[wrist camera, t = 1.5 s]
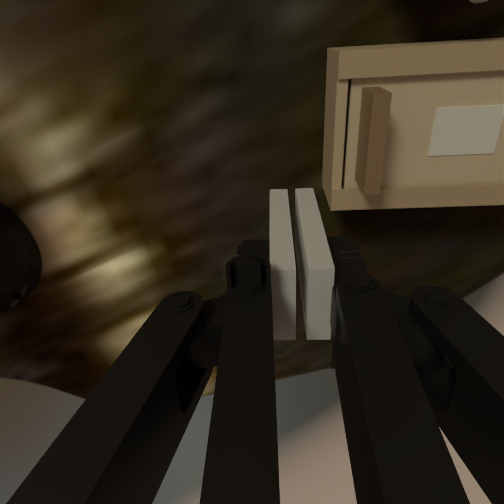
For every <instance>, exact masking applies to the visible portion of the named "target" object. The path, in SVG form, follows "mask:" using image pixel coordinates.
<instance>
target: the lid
mask: <svg viewBox="0 0 504 504" xmlns="http://www.w3.org/2000/svg"><path fill="white" fill-rule="evenodd" d="M486 183H504V70H496V71H478V72H460V73H442V74H424V75H406V76H388V77H370V78H352V79H350V94H349V108H348V123H347V138H346V152H345V167H344V182H343V189H351V188H360V189H361V191H362V193H363V194H364V195H366V194H380V190H381V187H405V186H432V185H459V184H486Z"/></svg>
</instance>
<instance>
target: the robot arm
mask: <svg viewBox="0 0 504 504" xmlns="http://www.w3.org/2000/svg"><path fill="white" fill-rule="evenodd" d="M295 245H296V253H297V262H298V270H299V279H300V287H301V296H302V304H303V313H304V321H305V329H306V338H307V340H326V339H330V336H331V331H332V336H333V344H332V359H331V368H335V372H336V378H337V384H338V390H339V396H340V402H341V408H342V414H343V421H344V426H345V433H346V439H347V445H348V451H349V457H350V463H351V469H352V475H353V481H354V487H355V493H356V500H357V504H470V503H469V500H468V498H467V495H466V493H465V491H464V488H463V485H462V483H461V480H460V478H459V475H458V473H457V470H456V468H455V466H454V463H453V461H452V458H451V456H450V453H449V451H448V448H447V446H446V443H445V441H444V438H443V436H442V433H441V431H440V429H439V427H440V428H441V430H442V431H443V433H444V434H445V436H446V437H447V439H448V440H449V442H450V443H451V444H452V446H453V448H454V449H455V450H456V452H457V453H458V455H459V456H460V458H461V459H462V461H463V462H464V463H465V465H466V467H467V468H468V469H469V471H470V472H471V474H472V475H473V477H474V478H475V479H476V481H477V483H478V484H479V486H480V487H481V488H482V490H483V491H484V493H485V494H486V496H487V497H488V499H489V500H490V502H491V503H492V504H504V336H503V335H502V334H501V333H500V332H498V331H497V330H496V329H495V328H494V327H493V326H492V325H491V324H490V323H488V322H487V321H486V320H485V319H484V318H483V317H482V316H481V315H479V314H478V313H477V312H476V311H475V310H474V309H473V308H472V307H471V306H469V305H468V304H467V303H466V302H465V301H464V300H463V299H462V298H461V297H460V296H458V295H457V294H456V293H454V292H453V291H451V290H449V289H446V288H443V287H440V286H434V285H423V286H420V287H416V288H415V289H414V290H413V291H412V292H411V297H408V296H403V295H397V294H393V293H389V292H386V291H384V290H383V288H382V285H381V284H380V283H379V281H378V280H376V279H374V278H373V277H370V275H369V273H368V270H367V268H366V266H365V263H364V261H363V258H362V256H361V253H360V252H359V249H358V246H357V244H356V242H355V241H353V240H352V239H351V238H349V237H348V236H339V237H326V235H325V231H324V227H323V224H322V220H321V216H320V213H319V209H318V205H317V202H316V198H315V194H314V191H313V188H302V189H295ZM40 274H41V257H40V253H39V250H38V247H37V245H36V242H35V240H34V238H33V237H32V235H31V233H30V232H29V231H28V229H27V228H26V227H25V225H24V224H23V223H22V222H21V221H20V220H19V219H18V218H17V217H16V216H15V215H14V214H13V213H12V212H11V211H10V210H8V209H7V208H6V207H4V206H3V205H2V204H0V313H2V312H4V311H6V310H8V309H10V308H12V307H14V306H16V305H17V304H18V303H20V302H21V301H22V300H23V299H24V298H25V297H26V296H27V295H28V294H29V293H30V292H31V291H32V290H33V288H34V287H35V286H36V284H37V283H38V280H39V278H40ZM226 276H227V285H228V292H226V293H225V294H224V295H222V296H220V297H217V298H214V299H210V300H206V301H203V299H202V297H201V296H200V295H199V294H197V293H194V292H190V291H181V292H177V293H173V294H171V295H169V296H167V297H165V298H164V299H163V300H162V301H161V302H160V303H159V304H158V306H157V307H156V308H155V310H154V311H153V312H152V313H151V315H150V316H149V317H148V319H147V320H146V321H145V323H144V324H143V325H142V327H141V328H140V329H139V330H138V332H137V333H136V334H135V336H134V337H133V338H132V340H131V341H130V342H129V344H128V345H127V346H126V348H125V349H124V350H123V351H122V353H121V354H120V355H119V357H118V358H117V359H116V361H115V362H114V363H113V365H112V366H111V367H110V368H109V370H108V371H107V372H106V374H105V375H104V376H103V378H102V379H101V380H100V382H99V383H98V384H97V386H96V387H95V388H94V389H93V391H92V392H91V393H90V395H89V396H88V397H87V399H86V400H85V401H84V403H83V404H82V405H81V407H80V408H79V409H78V411H77V412H76V413H75V414H74V416H73V417H72V418H71V420H70V421H69V422H68V424H67V425H66V426H65V427H64V429H63V430H62V431H61V433H60V434H59V435H58V437H57V438H56V439H55V441H54V442H53V443H52V445H51V446H50V447H49V448H48V450H47V451H46V452H45V454H44V455H43V456H42V458H41V459H40V460H39V462H38V463H37V464H36V465H35V467H34V468H33V469H32V471H31V472H30V474H29V475H28V476H27V477H26V479H25V480H24V481H23V483H22V484H21V485H20V486H19V488H18V489H17V490H16V492H15V493H14V494H13V496H12V497H11V498H10V500H9V501H8V502H7V503H6V504H152V502H153V500H154V498H155V496H156V494H157V492H158V489H159V487H160V485H161V483H162V481H163V479H164V476H165V474H166V472H167V470H168V468H169V465H170V463H171V461H172V459H173V456H174V455H175V452H176V450H177V448H178V446H179V443H180V441H181V439H182V437H183V435H184V433H185V430H186V428H187V426H188V424H189V422H190V419H191V417H192V415H193V413H194V411H195V408H196V406H197V404H198V402H199V400H200V398H201V395H202V393H203V391H204V389H205V387H206V384H207V382H208V380H209V378H210V376H211V373H212V370H213V367H214V366H218V368H217V376H216V383H215V391H214V399H213V407H212V414H211V421H210V430H209V437H208V444H207V452H206V459H205V467H204V475H203V483H202V490H201V498H200V504H280V493H279V468H278V442H277V417H276V395H275V394H276V393H275V367H274V342H273V340H296V267H295V258H294V248H293V239H292V230H291V220H290V211H289V202H288V192H287V189H275V190H270V239H268V240H244V241H243V242H242V243H241V244H240V246H239V247H238V251H237V256H236V257H234V258H232V259H231V260H229V261H228V262H227V264H226Z"/></svg>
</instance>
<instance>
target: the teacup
mask: <svg viewBox="0 0 504 504" xmlns="http://www.w3.org/2000/svg"><path fill="white" fill-rule="evenodd" d="M469 1H471V2H473V3H482V2H485V1H488V0H469Z"/></svg>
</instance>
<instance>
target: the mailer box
mask: <svg viewBox="0 0 504 504" xmlns="http://www.w3.org/2000/svg"><path fill="white" fill-rule="evenodd" d="M496 70H504V37H501V38H484V39H468V40H451V41H435V42H419V43H402V44H386V45H369V46H353V47H336V48H327V73H326V99H325V124H324V150H323V176H322V186H323V189H324V192H325V195H326V198H327V201H328V204H329V206H330V209H331V211H333V210H363V209H393V208H423V207H453V206H483V205H504V183H486V184H459V185H432V186H405V187H381V190H380V194H366V195H364V194H363V193H362V191H361V189H360V188H351V189H343V182H344V167H345V152H346V138H347V123H348V108H349V94H350V79H352V78H370V77H388V76H406V75H424V74H442V73H460V72H478V71H496Z"/></svg>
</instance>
